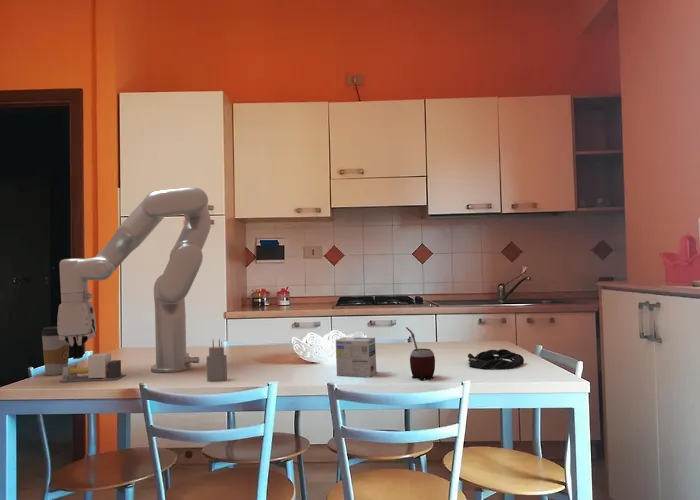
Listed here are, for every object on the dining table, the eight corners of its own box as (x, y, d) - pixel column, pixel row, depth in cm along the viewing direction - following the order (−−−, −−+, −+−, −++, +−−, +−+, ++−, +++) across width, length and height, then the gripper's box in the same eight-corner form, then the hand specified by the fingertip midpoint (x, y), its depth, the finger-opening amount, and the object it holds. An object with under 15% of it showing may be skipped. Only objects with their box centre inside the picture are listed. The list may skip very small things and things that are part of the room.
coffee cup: (58, 376, 170) (57, 328, 171) (35, 376, 172) (34, 328, 172) (76, 371, 178) (76, 325, 179) (54, 370, 180) (54, 325, 180)
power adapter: (209, 379, 159) (208, 338, 159) (227, 379, 159) (226, 338, 159) (206, 381, 156) (205, 340, 156) (224, 381, 156) (223, 339, 156)
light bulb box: (377, 373, 161) (376, 336, 162) (370, 377, 155) (369, 340, 155) (343, 371, 165) (342, 336, 165) (335, 376, 159) (334, 339, 159)
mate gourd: (436, 375, 155) (434, 323, 155) (434, 382, 147) (432, 327, 147) (410, 375, 156) (408, 323, 157) (407, 381, 149) (405, 327, 149)
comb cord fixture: (125, 375, 169) (125, 359, 169) (116, 380, 162) (116, 363, 162) (70, 377, 168) (70, 360, 168) (59, 382, 161) (59, 365, 161)
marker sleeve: (111, 374, 167) (110, 353, 167) (105, 377, 163) (104, 355, 163) (95, 374, 167) (94, 353, 167) (88, 378, 163) (88, 356, 163)
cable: (519, 361, 174) (519, 348, 174) (530, 370, 160) (529, 355, 160) (466, 362, 176) (465, 349, 176) (471, 371, 162) (470, 356, 162)
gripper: (104, 296, 170) (107, 354, 169) (56, 299, 169) (59, 357, 169) (94, 298, 162) (97, 358, 162) (43, 301, 161) (47, 362, 161)
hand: (78, 358), depth 165 cm, fingers closed
